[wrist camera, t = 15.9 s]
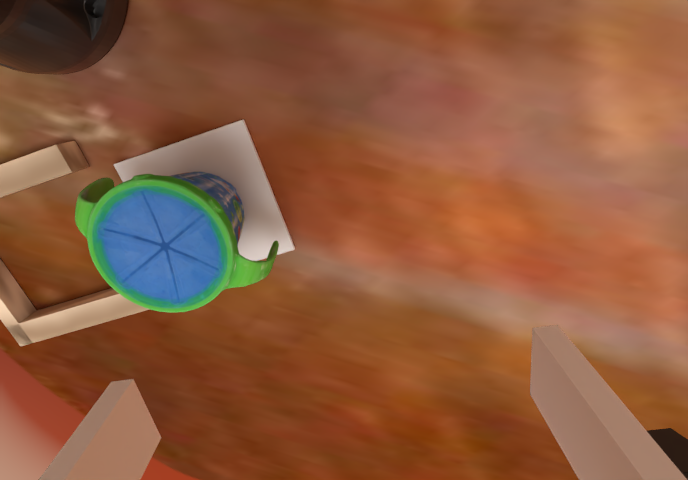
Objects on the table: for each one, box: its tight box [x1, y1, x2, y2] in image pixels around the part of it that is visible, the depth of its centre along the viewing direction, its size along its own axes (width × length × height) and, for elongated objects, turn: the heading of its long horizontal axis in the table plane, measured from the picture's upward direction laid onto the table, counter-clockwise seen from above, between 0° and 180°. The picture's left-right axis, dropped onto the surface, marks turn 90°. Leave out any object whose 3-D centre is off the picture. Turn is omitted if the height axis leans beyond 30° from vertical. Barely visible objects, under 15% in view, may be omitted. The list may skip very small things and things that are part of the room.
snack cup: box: [75, 172, 279, 312], centre depth 33 cm, size 16×10×10 cm
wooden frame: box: [0, 141, 149, 346], centre depth 39 cm, size 17×16×2 cm
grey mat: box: [113, 119, 295, 261], centre depth 38 cm, size 13×13×1 cm
